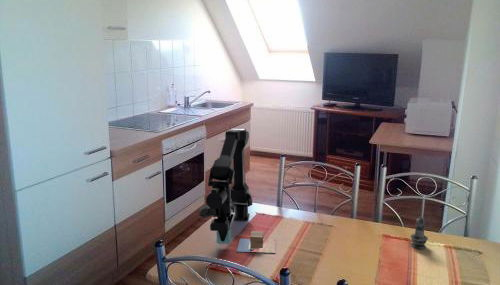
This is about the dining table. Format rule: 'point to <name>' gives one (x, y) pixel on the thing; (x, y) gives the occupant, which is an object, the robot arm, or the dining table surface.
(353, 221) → the dining table surface
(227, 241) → the teal cube
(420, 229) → the dark grey flanged nozzle
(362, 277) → the dining table surface
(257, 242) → the walnut cube
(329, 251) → the dining table surface
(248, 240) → the blueprint mat
